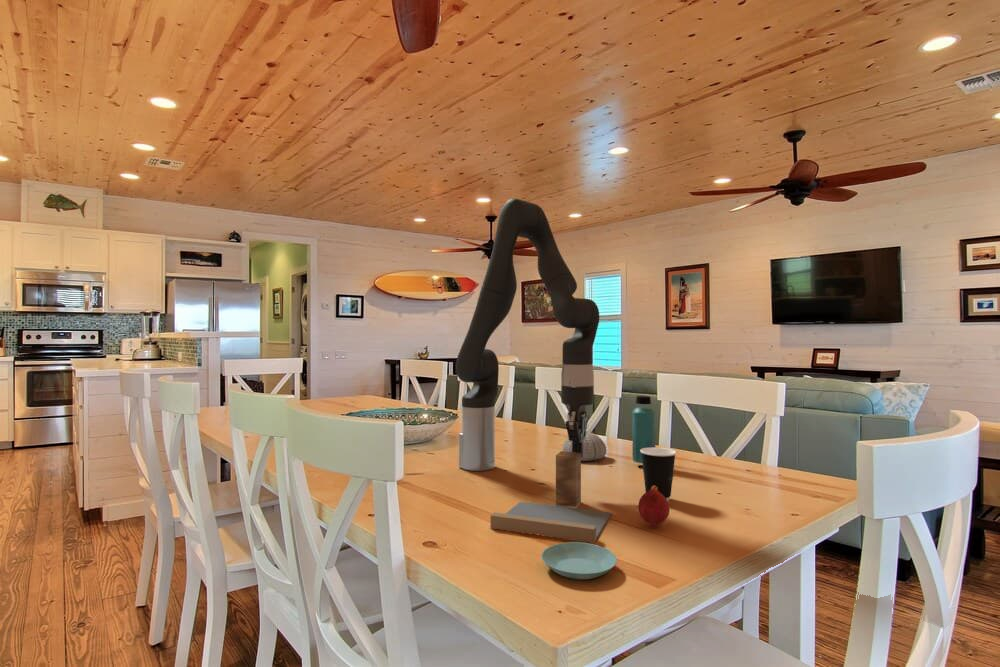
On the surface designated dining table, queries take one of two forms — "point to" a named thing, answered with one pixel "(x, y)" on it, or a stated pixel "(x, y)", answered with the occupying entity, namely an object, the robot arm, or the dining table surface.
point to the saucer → (578, 560)
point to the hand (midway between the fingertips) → (577, 457)
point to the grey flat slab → (552, 521)
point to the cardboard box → (568, 479)
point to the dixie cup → (658, 469)
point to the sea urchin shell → (589, 447)
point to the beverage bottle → (643, 428)
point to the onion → (653, 507)
